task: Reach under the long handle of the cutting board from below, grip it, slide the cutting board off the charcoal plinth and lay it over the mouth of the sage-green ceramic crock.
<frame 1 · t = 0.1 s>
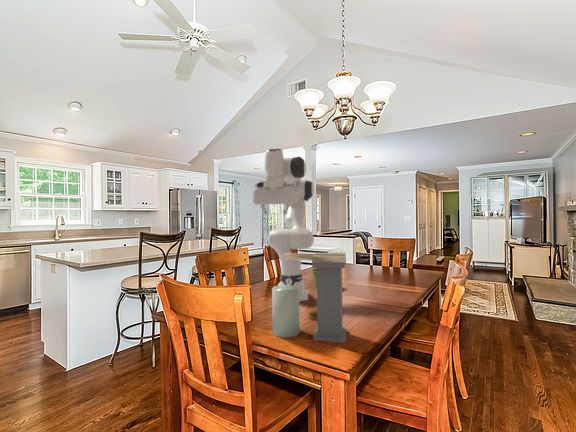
hand: (275, 214, 143), 48 cm above the table, tool pointing down, fingers open, 8 cm apart
cutting board: (314, 259, 124), point 30 cm above the table, touching plinth
crock: (286, 332, 128), on the table
plinth: (330, 335, 124), on the table
burger: (319, 318, 145), on the table
plant pot: (321, 287, 200), on the table
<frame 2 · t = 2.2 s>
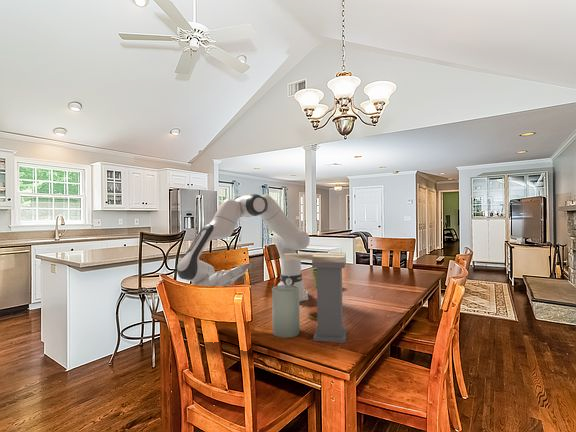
hand: (246, 266, 131), 26 cm above the table, tool pointing upward, fingers open, 8 cm apart
nothing on the table moved.
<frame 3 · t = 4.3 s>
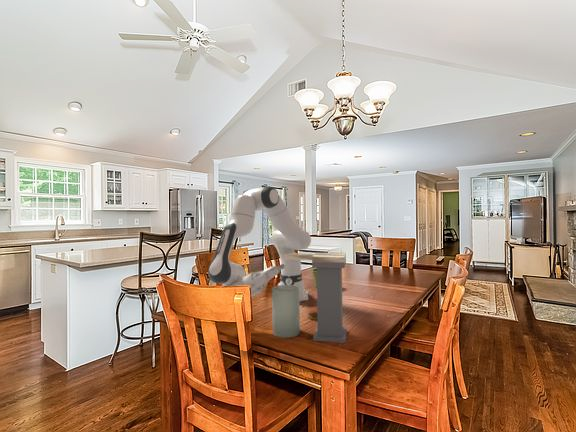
hand: (281, 267, 128), 26 cm above the table, tool pointing upward, fingers open, 8 cm apart
nothing on the table moved.
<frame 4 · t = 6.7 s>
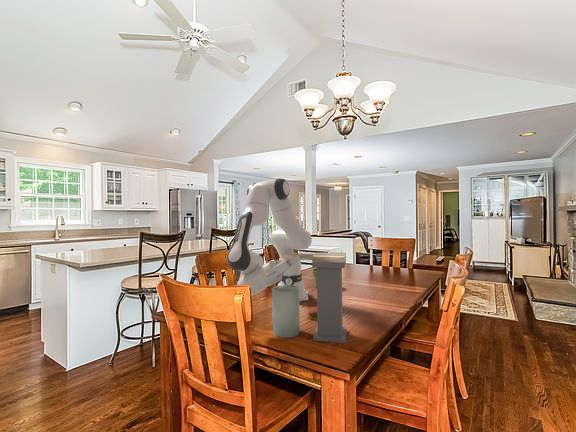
hand: (301, 255, 126), 31 cm above the table, tool pointing upward, fingers closed on cutting board, 4 cm apart
cutting board: (314, 259, 124), point 30 cm above the table, touching gripper, plinth
everything else where it was.
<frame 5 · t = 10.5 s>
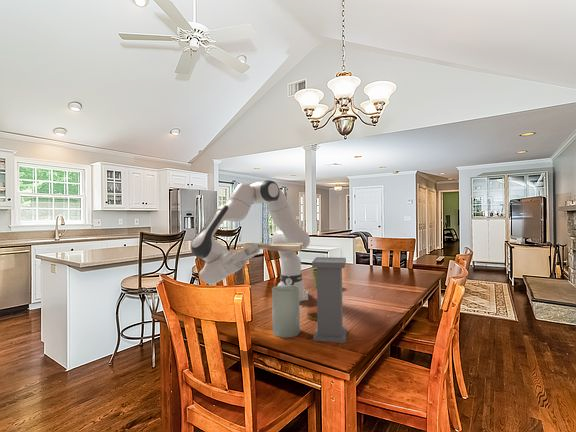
hand: (260, 245, 129), 36 cm above the table, tool pointing upward, fingers closed on cutting board, 4 cm apart
cutting board: (272, 248, 128), point 34 cm above the table, touching gripper
everything else where it was.
when the fingers open (21 cm above the table, at t = 14.7 s): cutting board drops 2 cm, resting on crock.
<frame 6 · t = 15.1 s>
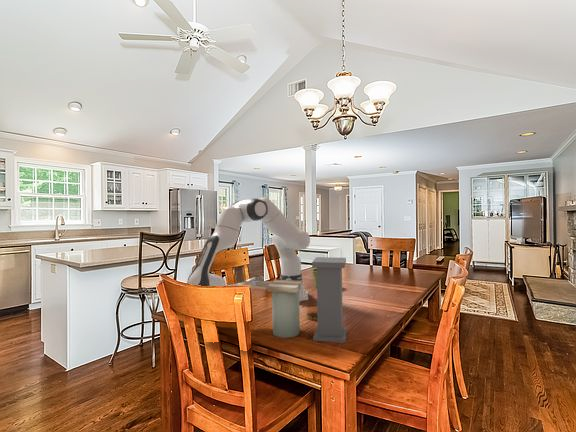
hand: (259, 280, 130), 21 cm above the table, tool pointing upward, fingers open, 8 cm apart
cutting board: (271, 287, 129), point 18 cm above the table, touching crock
everything else where it was.
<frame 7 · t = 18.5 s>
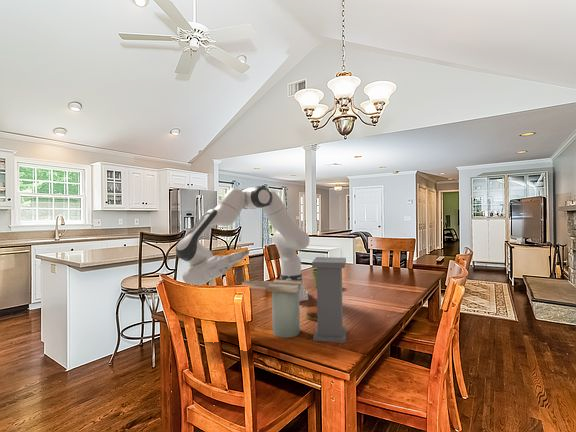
hand: (245, 252, 132), 32 cm above the table, tool pointing upward, fingers open, 8 cm apart
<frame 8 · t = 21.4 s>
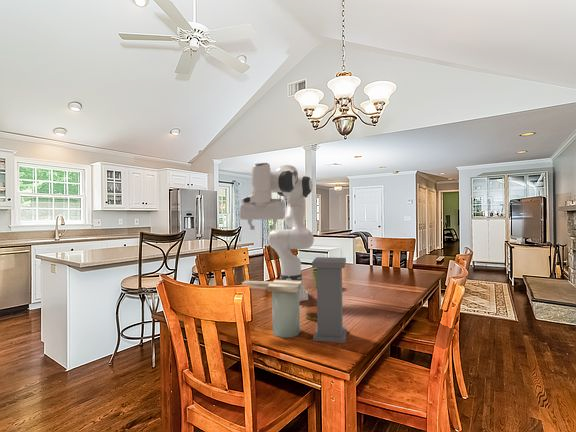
hand: (262, 229, 141), 41 cm above the table, tool pointing down, fingers open, 8 cm apart
at the end: cutting board inside the target area on the crock (0.1 cm from its centre), point 18.0 cm above the crock's base; cutting board touching crock; the gripper is holding nothing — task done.
